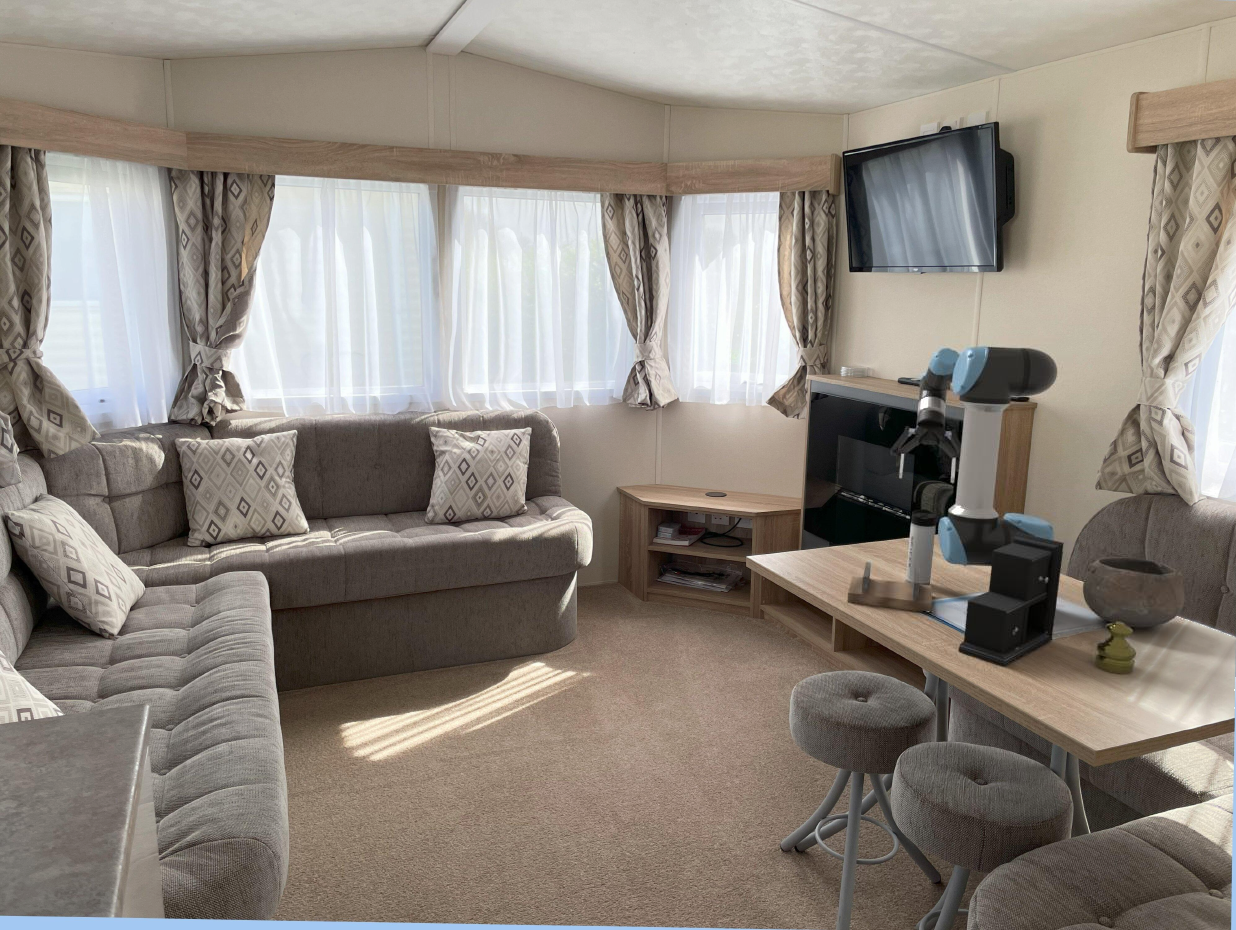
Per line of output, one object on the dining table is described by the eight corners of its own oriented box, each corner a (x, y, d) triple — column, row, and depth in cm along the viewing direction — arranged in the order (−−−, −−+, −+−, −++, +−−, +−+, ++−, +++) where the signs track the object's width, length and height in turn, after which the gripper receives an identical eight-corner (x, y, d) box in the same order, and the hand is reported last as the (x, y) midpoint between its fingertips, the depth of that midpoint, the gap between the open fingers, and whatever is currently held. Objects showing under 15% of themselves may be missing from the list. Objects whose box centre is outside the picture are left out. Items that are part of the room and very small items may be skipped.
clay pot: (1064, 620, 219) (1072, 560, 216) (1101, 602, 233) (1108, 546, 230) (1159, 647, 204) (1168, 584, 201) (1192, 627, 217) (1202, 567, 214)
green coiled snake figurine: (1123, 677, 187) (1129, 632, 185) (1087, 665, 193) (1093, 620, 191) (1140, 669, 191) (1146, 625, 189) (1104, 657, 197) (1110, 614, 195)
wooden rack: (930, 595, 235) (932, 569, 234) (930, 612, 222) (933, 585, 220) (851, 585, 241) (853, 560, 240) (847, 601, 228) (849, 575, 227)
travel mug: (929, 581, 246) (936, 510, 242) (929, 588, 240) (936, 515, 236) (905, 578, 248) (912, 507, 244) (905, 585, 242) (911, 513, 238)
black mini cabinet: (1004, 668, 190) (1017, 561, 186) (956, 651, 198) (967, 548, 194) (1053, 641, 206) (1065, 542, 201) (1006, 627, 213) (1017, 531, 209)
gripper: (975, 427, 259) (973, 489, 248) (885, 421, 267) (879, 481, 256) (979, 411, 253) (976, 474, 242) (886, 405, 261) (880, 466, 250)
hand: (926, 477), depth 249 cm, fingers open, 13 cm apart
